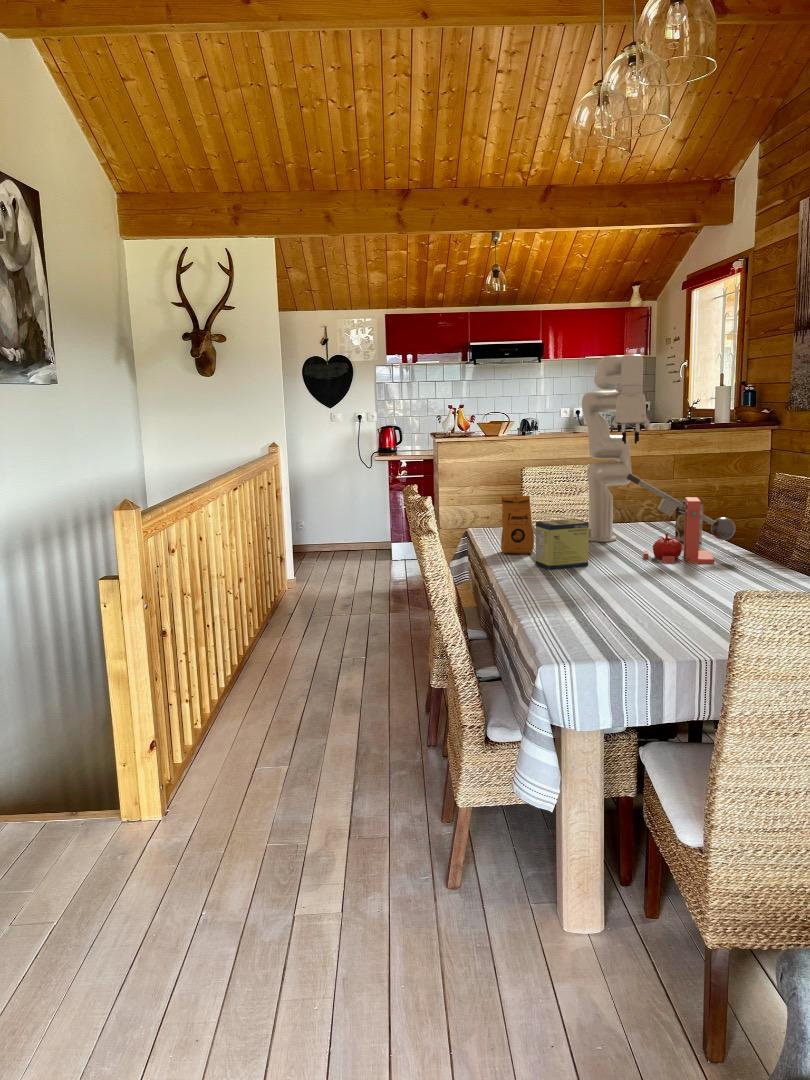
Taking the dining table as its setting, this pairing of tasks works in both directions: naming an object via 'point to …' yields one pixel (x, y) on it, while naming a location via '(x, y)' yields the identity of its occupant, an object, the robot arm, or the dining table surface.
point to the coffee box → (681, 522)
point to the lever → (719, 527)
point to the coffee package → (517, 525)
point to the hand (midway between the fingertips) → (630, 443)
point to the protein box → (562, 543)
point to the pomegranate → (667, 547)
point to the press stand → (691, 536)
